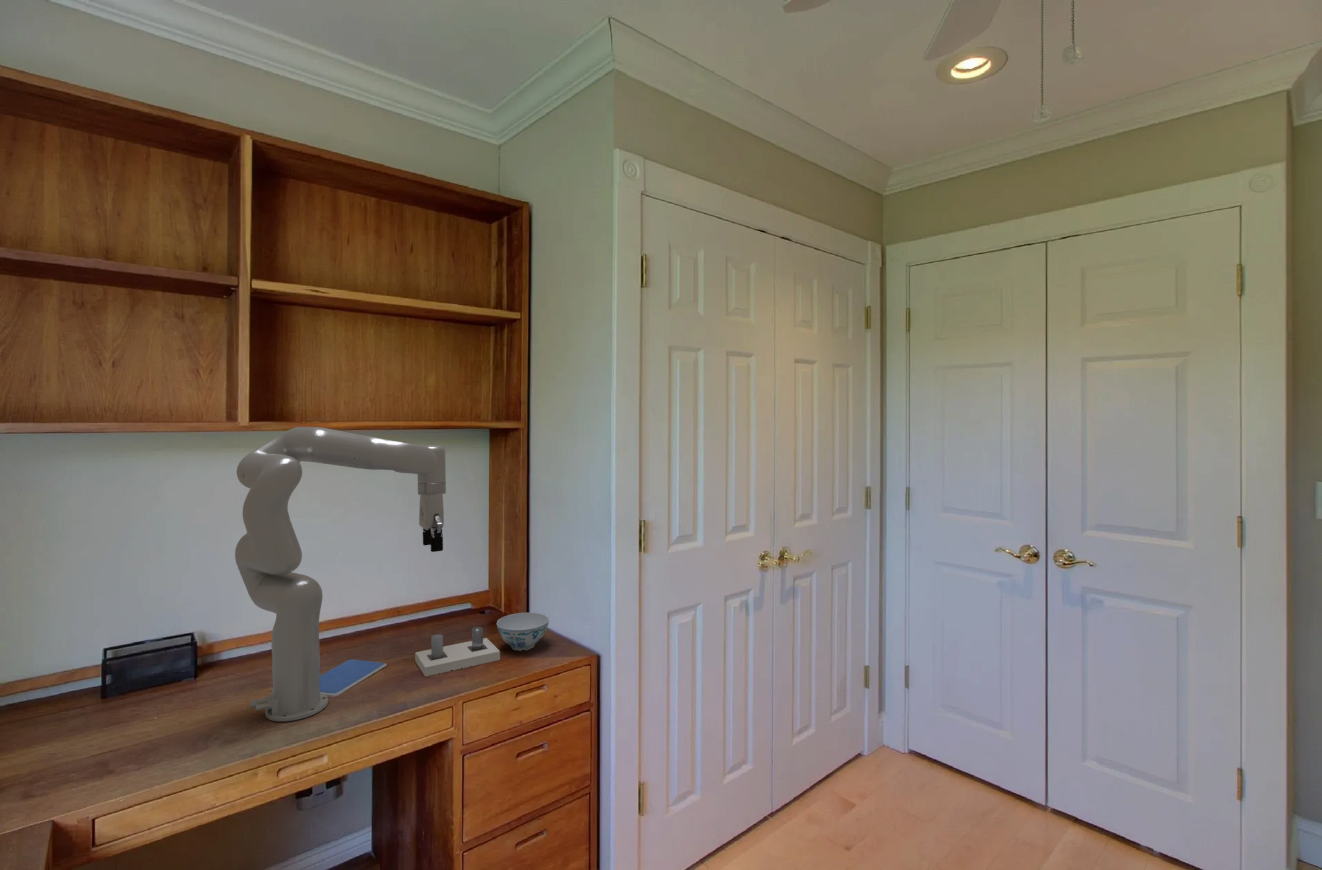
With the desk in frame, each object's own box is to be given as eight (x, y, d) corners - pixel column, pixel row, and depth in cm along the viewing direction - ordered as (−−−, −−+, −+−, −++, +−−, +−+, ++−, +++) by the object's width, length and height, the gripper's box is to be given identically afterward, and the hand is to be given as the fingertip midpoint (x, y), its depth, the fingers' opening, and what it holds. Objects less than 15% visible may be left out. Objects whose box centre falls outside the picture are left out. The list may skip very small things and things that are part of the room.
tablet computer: (335, 699, 151) (335, 694, 151) (292, 694, 154) (292, 688, 154) (388, 667, 170) (388, 662, 170) (349, 663, 173) (349, 658, 173)
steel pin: (473, 659, 174) (473, 631, 173) (470, 655, 176) (470, 628, 176) (484, 657, 175) (484, 629, 175) (481, 653, 178) (481, 626, 178)
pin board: (425, 676, 162) (424, 646, 162) (415, 661, 172) (414, 632, 172) (499, 660, 173) (499, 631, 173) (486, 646, 183) (486, 619, 183)
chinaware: (485, 650, 180) (485, 624, 180) (521, 634, 193) (521, 609, 193) (525, 660, 173) (524, 633, 173) (559, 643, 186) (559, 617, 186)
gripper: (411, 486, 182) (412, 544, 183) (425, 492, 168) (426, 555, 169) (438, 484, 186) (438, 541, 187) (453, 490, 172) (454, 552, 173)
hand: (432, 547), depth 178 cm, fingers open, 9 cm apart
